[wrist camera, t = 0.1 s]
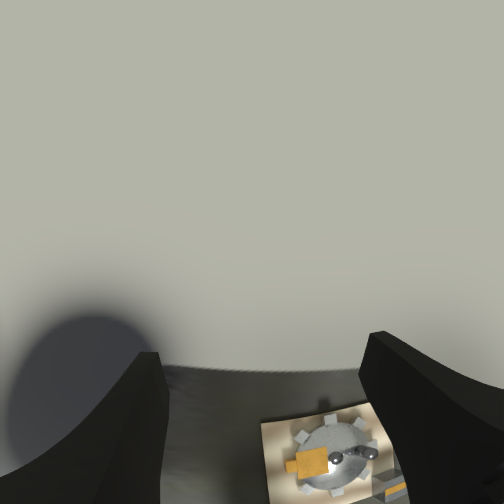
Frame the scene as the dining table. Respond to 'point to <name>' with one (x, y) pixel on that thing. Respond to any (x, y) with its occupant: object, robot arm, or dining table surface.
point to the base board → (284, 447)
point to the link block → (388, 485)
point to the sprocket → (332, 455)
